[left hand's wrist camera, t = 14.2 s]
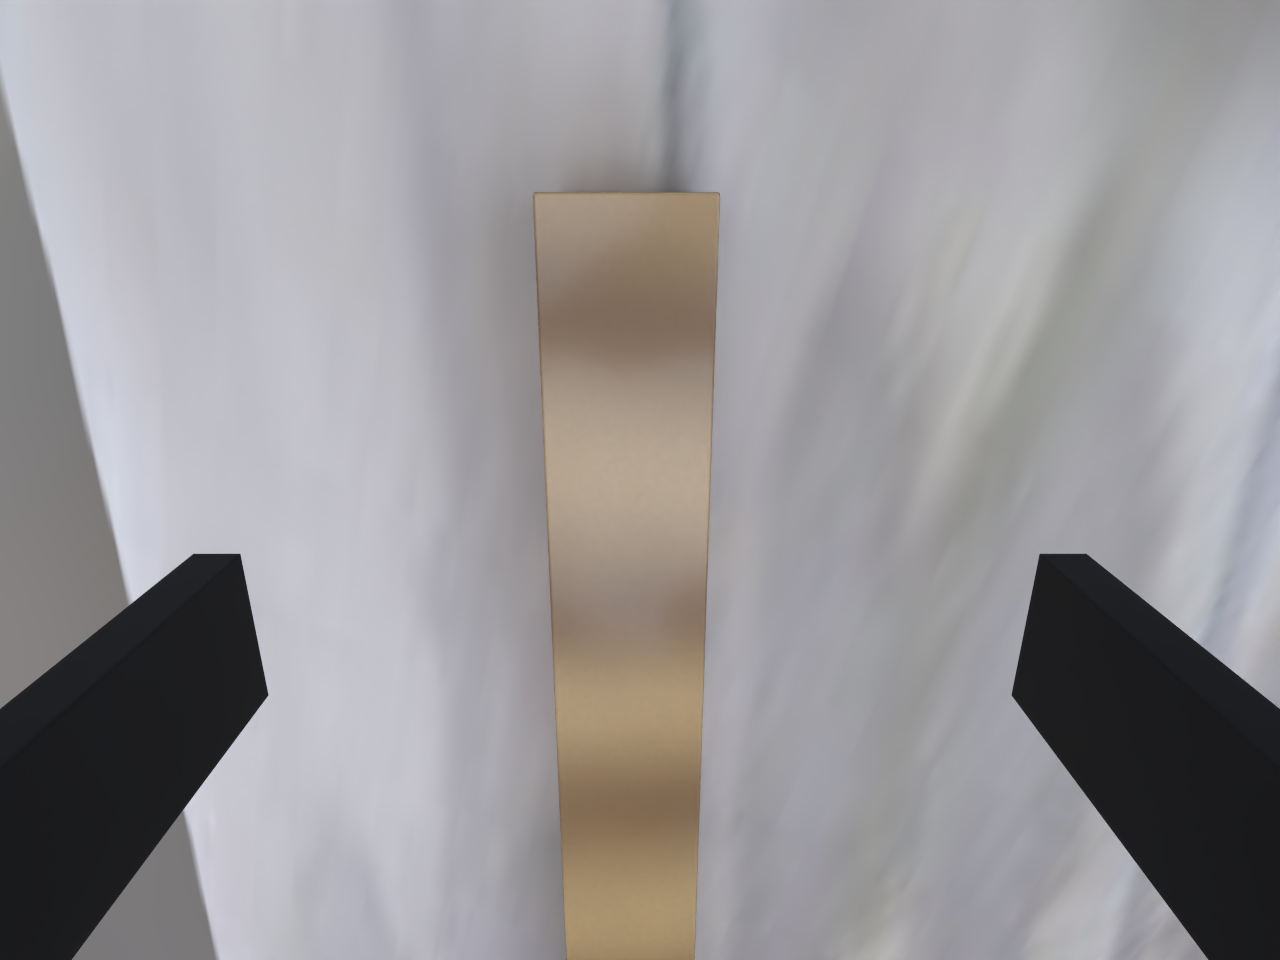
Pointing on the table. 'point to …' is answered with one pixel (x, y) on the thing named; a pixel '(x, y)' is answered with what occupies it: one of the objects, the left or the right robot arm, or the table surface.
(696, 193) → the bar
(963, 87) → the table surface
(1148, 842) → the left robot arm
